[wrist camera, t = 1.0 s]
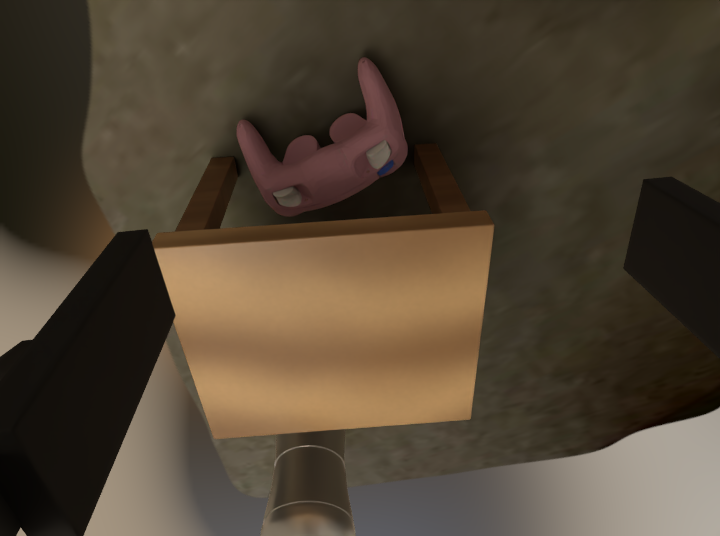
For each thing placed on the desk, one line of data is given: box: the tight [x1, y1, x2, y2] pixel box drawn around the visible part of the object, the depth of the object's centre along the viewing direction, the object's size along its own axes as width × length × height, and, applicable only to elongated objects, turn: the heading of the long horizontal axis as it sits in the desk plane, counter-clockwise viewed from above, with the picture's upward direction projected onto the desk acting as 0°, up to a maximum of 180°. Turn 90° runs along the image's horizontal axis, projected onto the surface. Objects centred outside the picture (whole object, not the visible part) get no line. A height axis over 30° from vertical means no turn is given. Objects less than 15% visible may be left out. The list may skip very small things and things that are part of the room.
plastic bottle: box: [260, 429, 355, 536], centre depth 37 cm, size 6×7×20 cm
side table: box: [152, 143, 494, 439], centre depth 32 cm, size 14×16×12 cm
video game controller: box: [237, 57, 408, 216], centre depth 30 cm, size 10×5×7 cm, turn 115°
